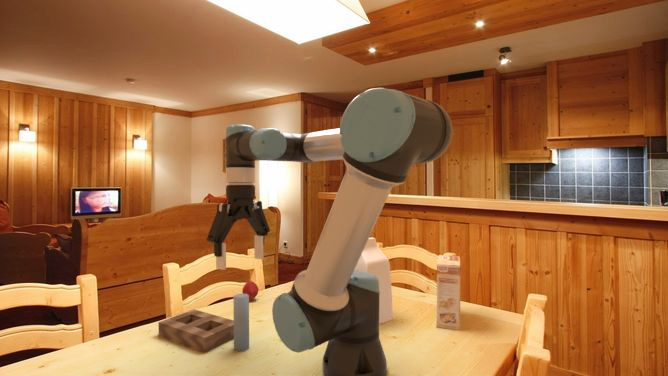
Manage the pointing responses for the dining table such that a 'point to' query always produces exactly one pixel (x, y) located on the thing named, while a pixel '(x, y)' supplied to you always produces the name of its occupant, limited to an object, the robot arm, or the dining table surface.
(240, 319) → the peg
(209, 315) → the socket board
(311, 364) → the dining table surface
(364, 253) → the milk
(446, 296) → the coffeecake box
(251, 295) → the onion
